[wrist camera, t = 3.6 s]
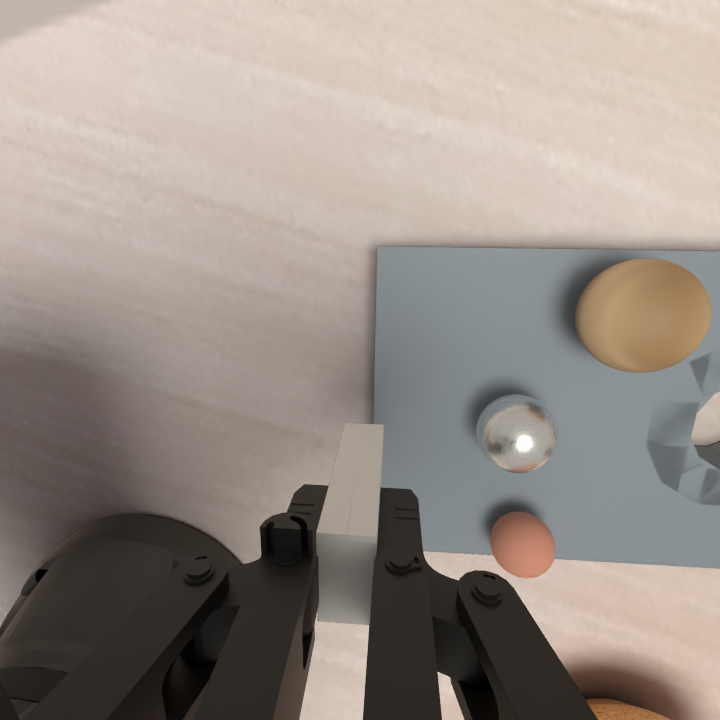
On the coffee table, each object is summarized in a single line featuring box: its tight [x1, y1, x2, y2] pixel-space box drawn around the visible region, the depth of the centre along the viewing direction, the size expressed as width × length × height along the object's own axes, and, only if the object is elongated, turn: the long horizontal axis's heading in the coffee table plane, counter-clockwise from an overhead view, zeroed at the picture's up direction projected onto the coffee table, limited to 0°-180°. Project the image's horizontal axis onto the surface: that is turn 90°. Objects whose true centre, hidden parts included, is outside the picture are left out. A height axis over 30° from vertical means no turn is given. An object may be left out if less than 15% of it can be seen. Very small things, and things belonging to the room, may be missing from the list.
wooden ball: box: [575, 258, 712, 373], centre depth 17 cm, size 4×4×4 cm
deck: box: [373, 246, 720, 569], centre depth 22 cm, size 25×16×2 cm, turn 89°
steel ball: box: [476, 394, 559, 474], centre depth 19 cm, size 4×4×4 cm
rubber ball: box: [490, 512, 556, 578], centre depth 21 cm, size 3×3×3 cm
